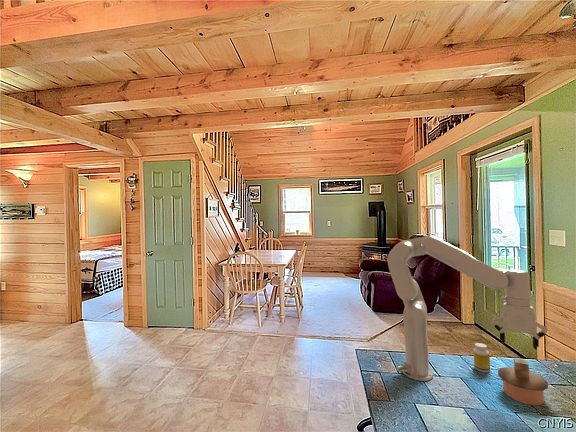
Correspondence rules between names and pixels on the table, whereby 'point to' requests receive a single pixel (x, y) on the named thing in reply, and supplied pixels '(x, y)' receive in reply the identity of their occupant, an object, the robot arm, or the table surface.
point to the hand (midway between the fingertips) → (518, 345)
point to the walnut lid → (522, 376)
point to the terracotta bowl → (524, 394)
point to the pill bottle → (481, 358)
